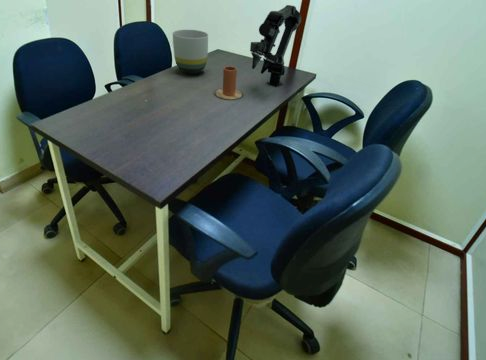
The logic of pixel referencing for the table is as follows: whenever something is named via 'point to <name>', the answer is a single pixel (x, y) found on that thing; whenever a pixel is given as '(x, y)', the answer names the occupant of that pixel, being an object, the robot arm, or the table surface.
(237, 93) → the beige flat disc
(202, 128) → the table surface
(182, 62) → the planter
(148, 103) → the table surface
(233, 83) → the terracotta pot
